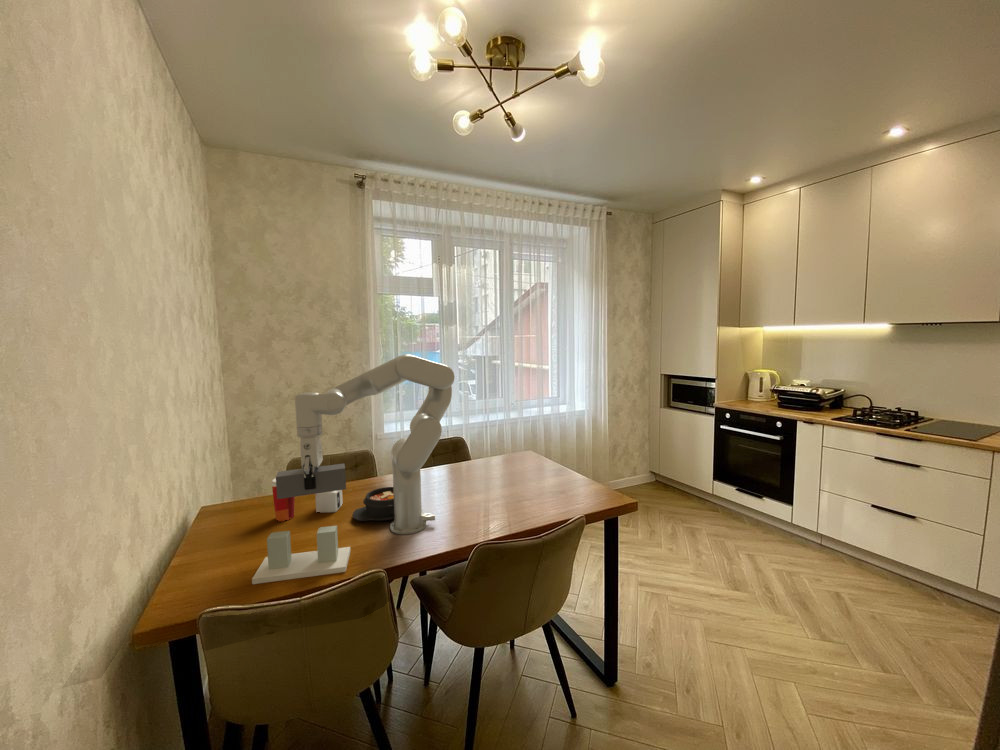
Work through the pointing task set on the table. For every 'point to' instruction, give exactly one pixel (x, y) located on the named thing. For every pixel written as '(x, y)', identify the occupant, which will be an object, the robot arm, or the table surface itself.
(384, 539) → the table surface
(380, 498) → the casserole
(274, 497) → the coffee cup
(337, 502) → the container
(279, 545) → the stand
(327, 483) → the bar
